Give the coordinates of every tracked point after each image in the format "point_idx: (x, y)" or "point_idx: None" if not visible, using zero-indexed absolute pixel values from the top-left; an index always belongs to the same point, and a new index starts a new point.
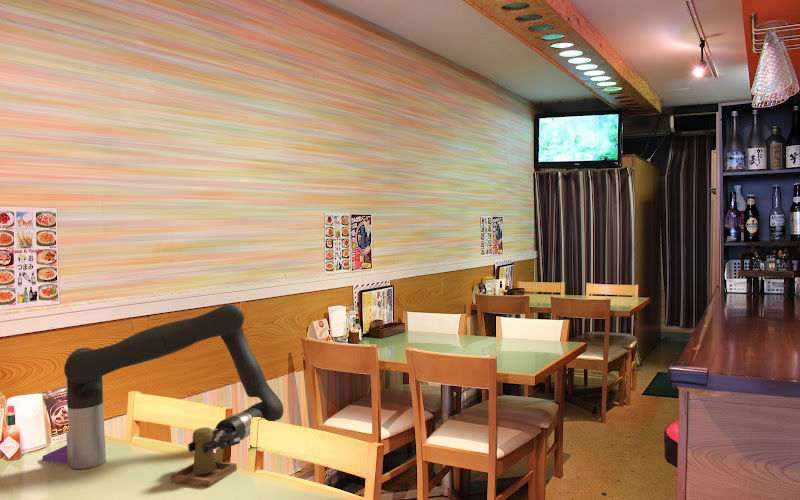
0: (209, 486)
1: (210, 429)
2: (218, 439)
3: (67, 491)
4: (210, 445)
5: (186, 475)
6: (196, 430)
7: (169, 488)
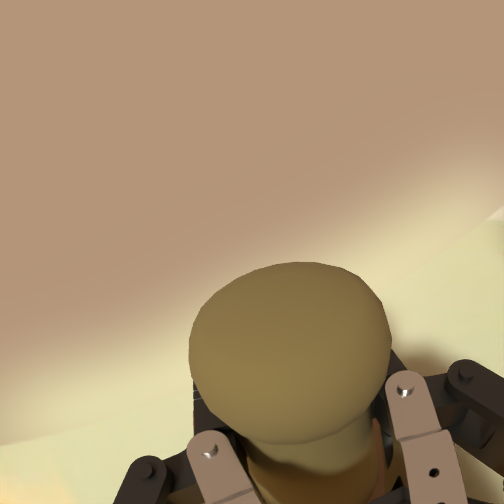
0: None
1: (208, 351)
2: (193, 471)
3: (481, 231)
4: (193, 388)
5: (374, 422)
6: (311, 265)
7: None
